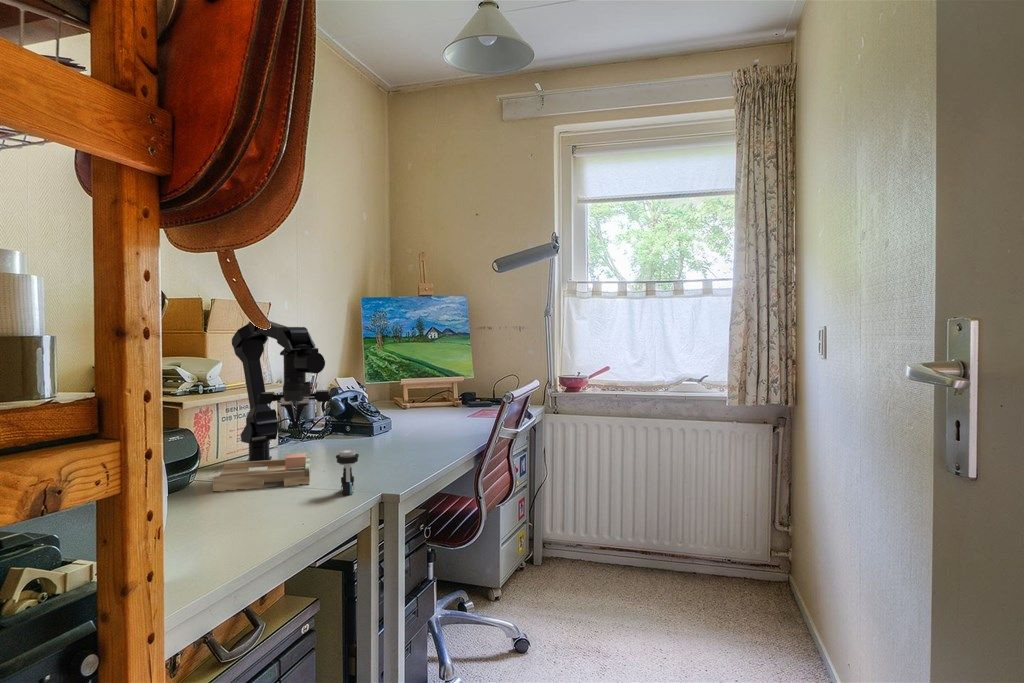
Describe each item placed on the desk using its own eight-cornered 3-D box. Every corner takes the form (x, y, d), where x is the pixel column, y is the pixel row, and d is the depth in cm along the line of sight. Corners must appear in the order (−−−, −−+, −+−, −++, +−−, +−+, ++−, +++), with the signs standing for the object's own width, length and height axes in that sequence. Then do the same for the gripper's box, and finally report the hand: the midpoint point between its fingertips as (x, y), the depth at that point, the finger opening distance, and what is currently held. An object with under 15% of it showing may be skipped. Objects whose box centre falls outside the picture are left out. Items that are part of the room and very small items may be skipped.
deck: (224, 476, 155) (224, 461, 155) (310, 469, 162) (310, 455, 162) (213, 492, 140) (213, 475, 140) (309, 484, 146) (309, 468, 146)
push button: (335, 489, 142) (334, 448, 142) (357, 487, 144) (357, 447, 144) (336, 496, 136) (336, 454, 135) (360, 494, 138) (359, 452, 137)
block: (286, 468, 154) (286, 454, 154) (306, 467, 156) (306, 452, 156) (285, 473, 150) (285, 458, 150) (305, 471, 151) (305, 456, 151)
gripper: (254, 375, 149) (255, 435, 150) (330, 373, 155) (330, 430, 155) (259, 372, 160) (260, 428, 160) (329, 370, 166) (330, 424, 166)
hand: (295, 428), depth 160 cm, fingers closed
